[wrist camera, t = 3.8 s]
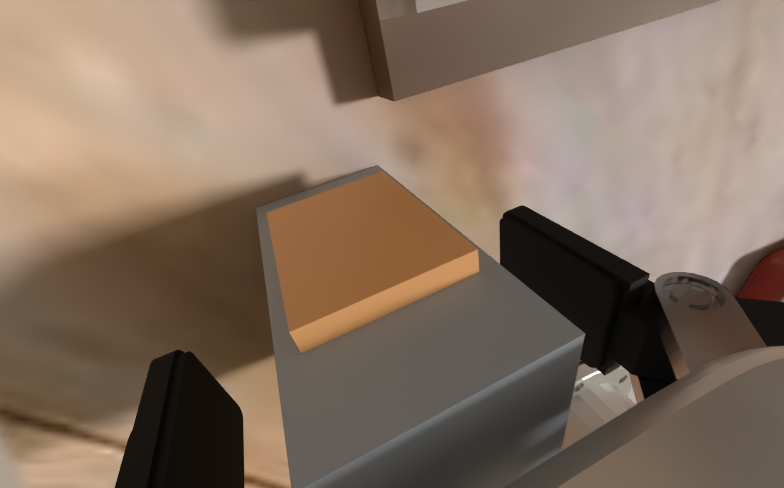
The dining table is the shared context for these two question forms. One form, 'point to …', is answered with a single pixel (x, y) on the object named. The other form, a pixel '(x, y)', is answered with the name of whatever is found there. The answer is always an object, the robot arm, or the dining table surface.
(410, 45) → the rail
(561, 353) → the block
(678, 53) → the dining table surface
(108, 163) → the dining table surface
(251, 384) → the dining table surface
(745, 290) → the plant saucer
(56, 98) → the dining table surface
